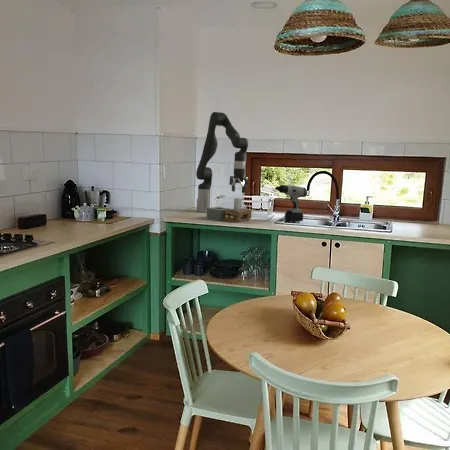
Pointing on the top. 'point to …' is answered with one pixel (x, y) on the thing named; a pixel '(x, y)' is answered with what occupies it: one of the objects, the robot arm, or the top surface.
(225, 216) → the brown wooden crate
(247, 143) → the robot arm
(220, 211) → the grey square box
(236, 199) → the steel peg
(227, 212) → the socket block
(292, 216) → the cordless drill
